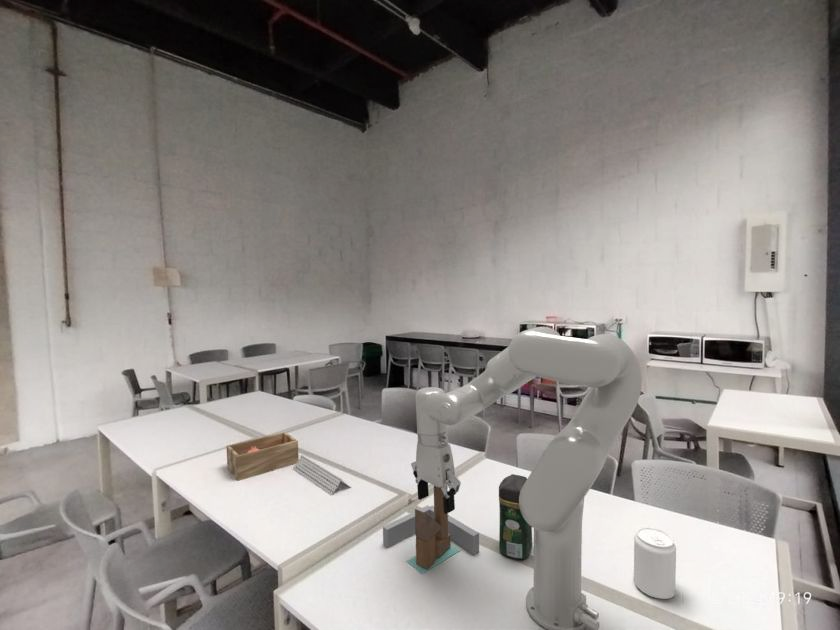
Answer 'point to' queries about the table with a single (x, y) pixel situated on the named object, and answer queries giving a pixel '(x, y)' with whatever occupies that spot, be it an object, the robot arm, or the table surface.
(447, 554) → the pad
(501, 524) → the coffee jar
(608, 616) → the table surface
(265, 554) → the table surface
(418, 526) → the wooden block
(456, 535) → the corner wall
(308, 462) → the corner bead
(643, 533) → the beverage can
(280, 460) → the box
